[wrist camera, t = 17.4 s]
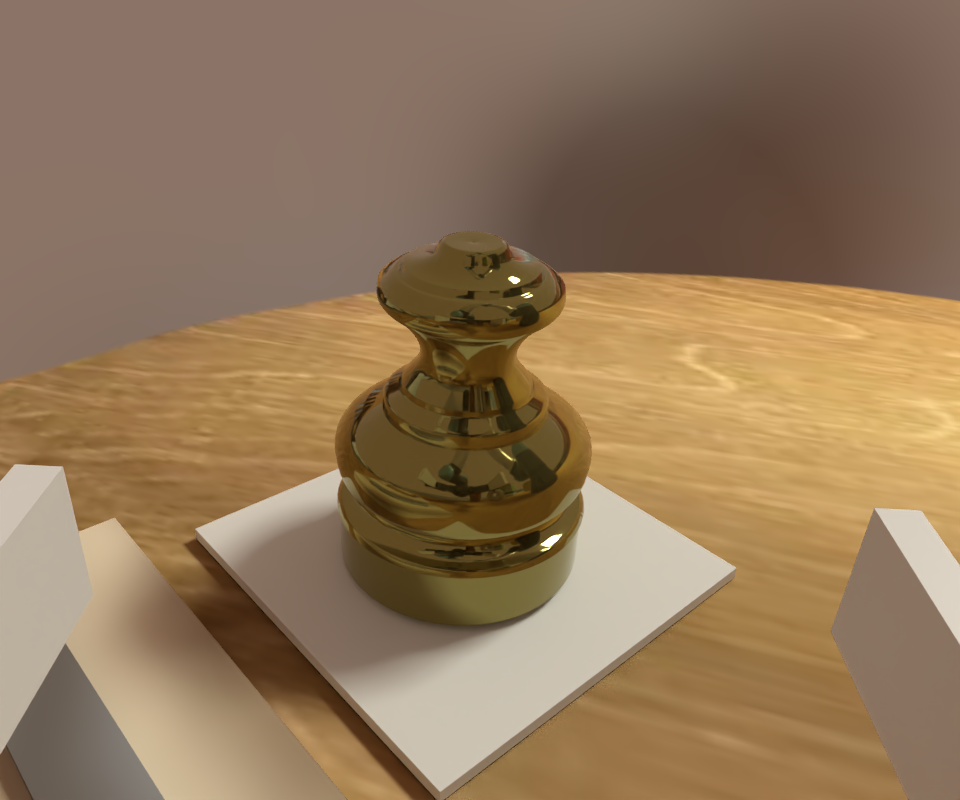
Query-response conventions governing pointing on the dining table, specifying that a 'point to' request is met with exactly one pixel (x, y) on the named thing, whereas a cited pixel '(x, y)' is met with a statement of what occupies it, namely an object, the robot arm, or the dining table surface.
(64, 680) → the light wooden flat frame
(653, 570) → the mat
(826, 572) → the dining table surface
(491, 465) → the brass bell weight
